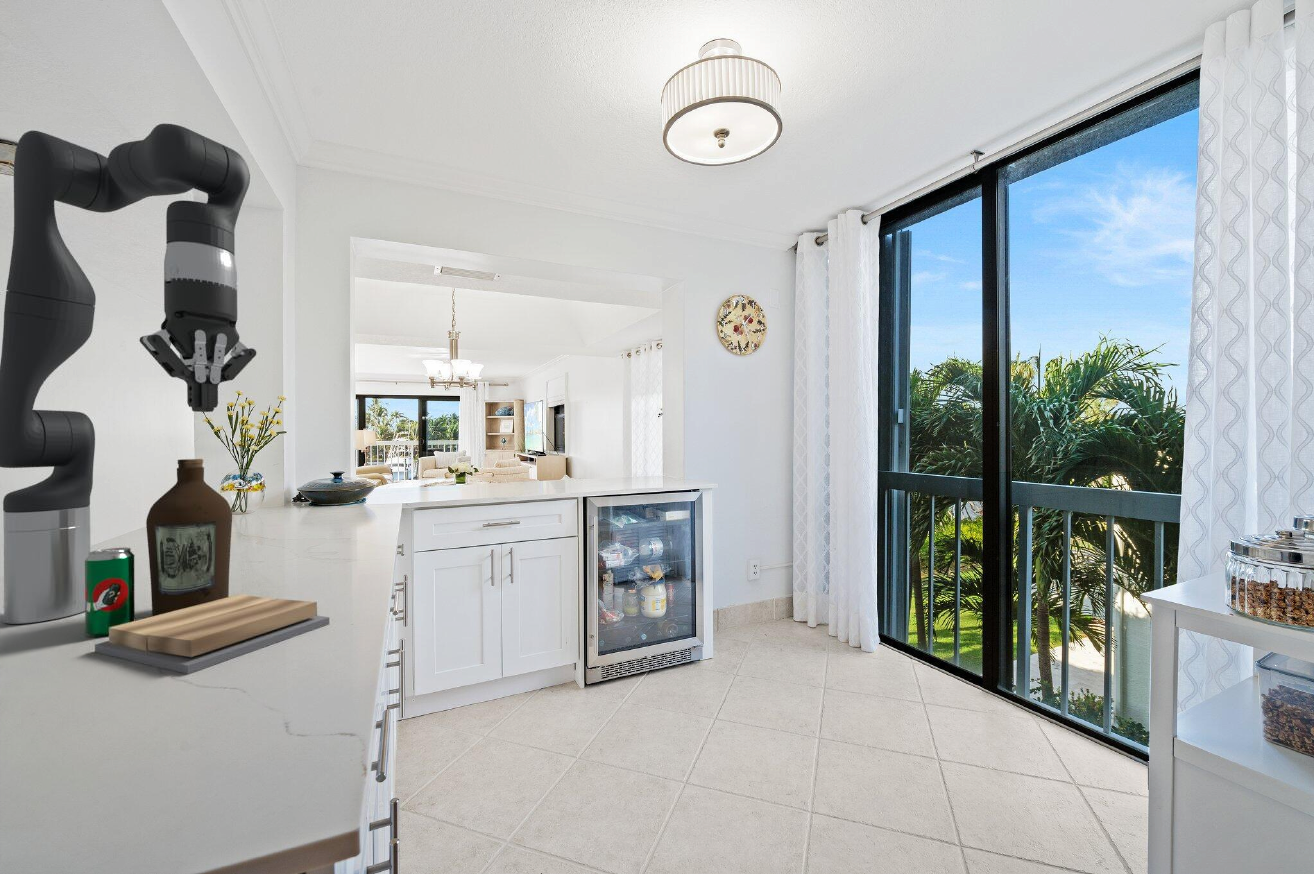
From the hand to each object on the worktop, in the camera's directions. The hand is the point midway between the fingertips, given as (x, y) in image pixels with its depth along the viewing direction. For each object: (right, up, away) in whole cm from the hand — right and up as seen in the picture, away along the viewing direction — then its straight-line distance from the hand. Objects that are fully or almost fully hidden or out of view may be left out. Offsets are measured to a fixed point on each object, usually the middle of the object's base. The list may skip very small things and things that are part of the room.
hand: (202, 411), depth 71 cm
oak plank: (-5, -32, +5) cm, 33 cm away
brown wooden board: (+4, -31, +2) cm, 31 cm away
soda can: (-19, -32, +6) cm, 38 cm away
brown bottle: (-15, -32, +15) cm, 39 cm away
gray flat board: (0, -32, +3) cm, 32 cm away
